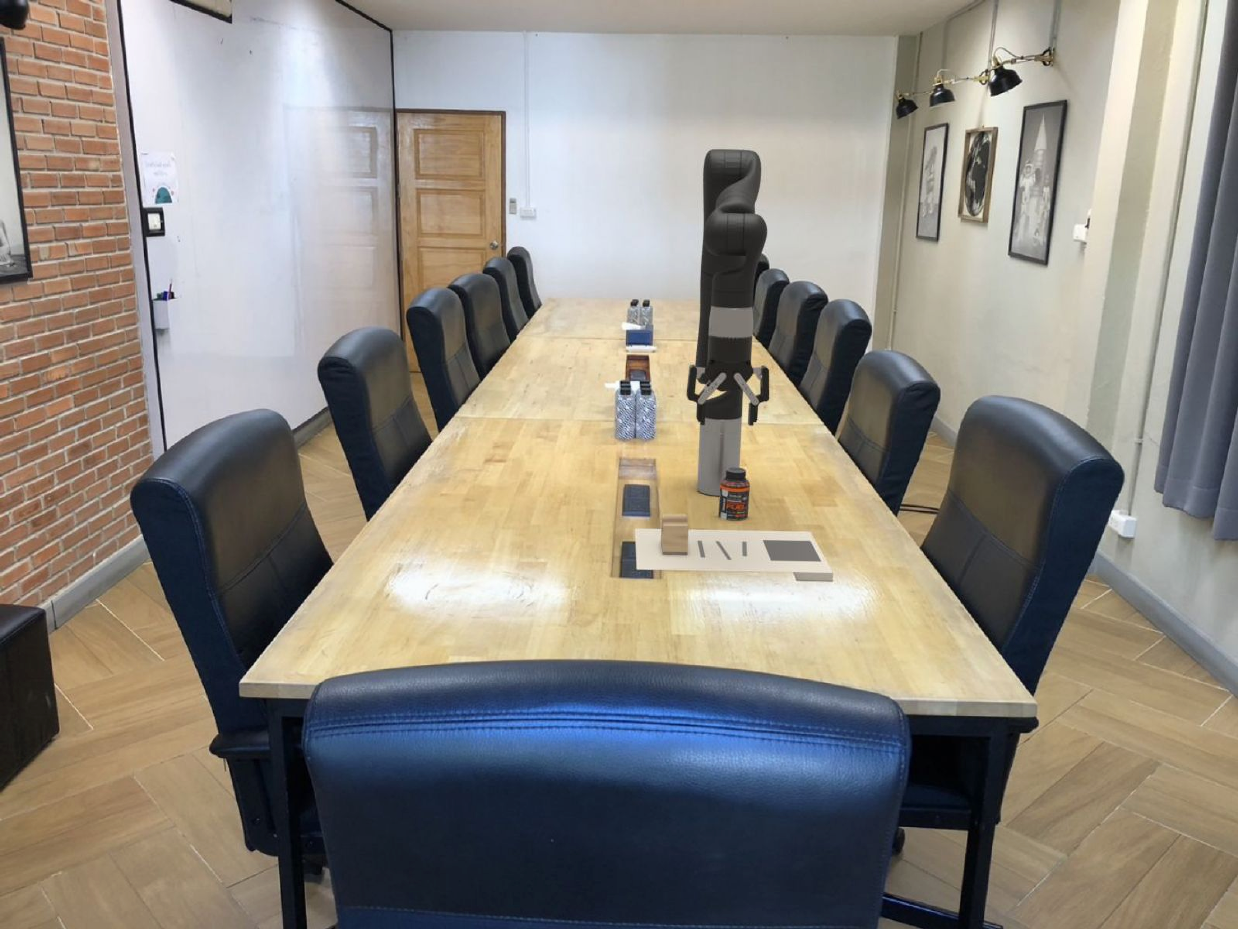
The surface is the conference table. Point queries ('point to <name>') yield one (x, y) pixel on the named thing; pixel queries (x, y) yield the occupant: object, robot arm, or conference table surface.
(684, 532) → the block
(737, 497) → the supplement bottle
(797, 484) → the conference table surface
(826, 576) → the board
